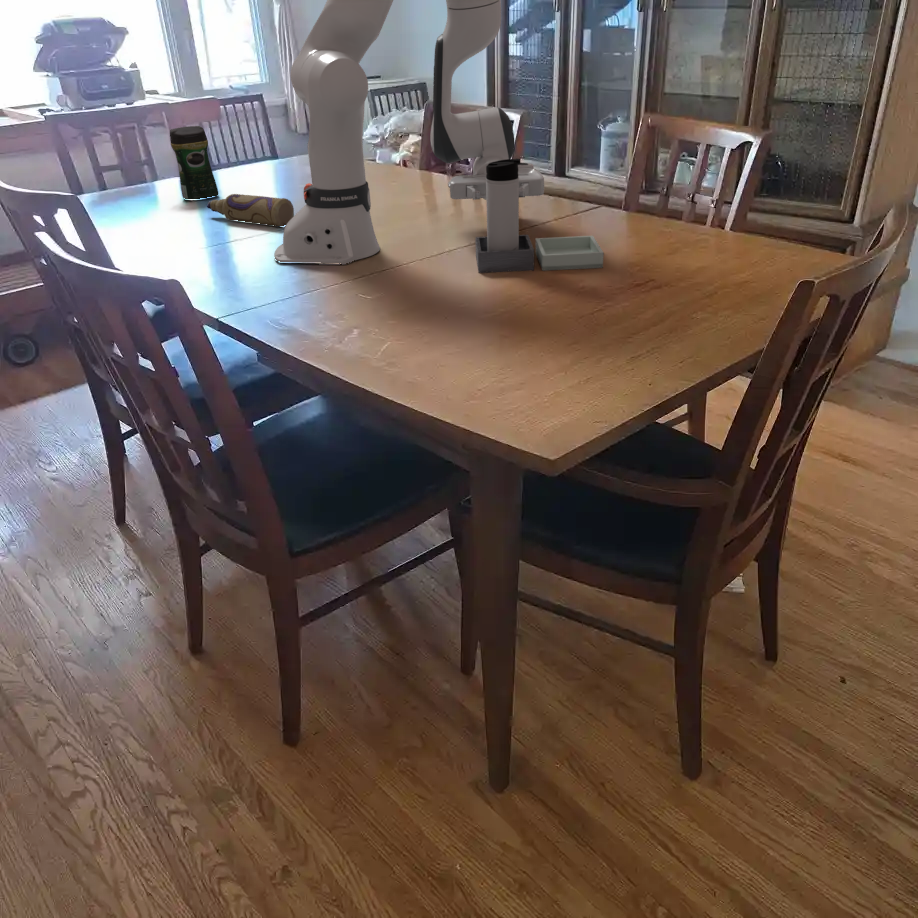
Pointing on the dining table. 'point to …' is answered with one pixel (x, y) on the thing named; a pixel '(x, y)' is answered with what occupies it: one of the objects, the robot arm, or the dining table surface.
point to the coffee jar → (193, 162)
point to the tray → (569, 253)
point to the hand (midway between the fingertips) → (499, 194)
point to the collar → (505, 257)
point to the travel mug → (502, 205)
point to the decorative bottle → (254, 209)
